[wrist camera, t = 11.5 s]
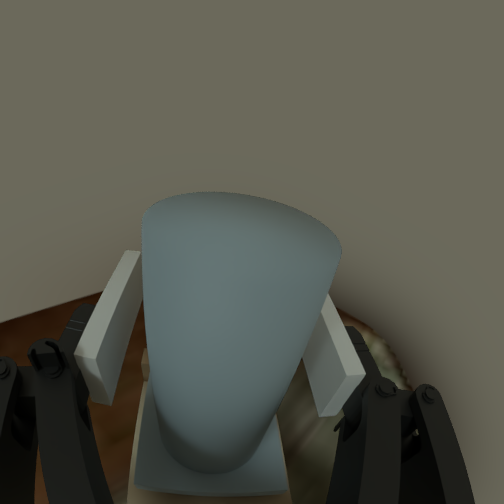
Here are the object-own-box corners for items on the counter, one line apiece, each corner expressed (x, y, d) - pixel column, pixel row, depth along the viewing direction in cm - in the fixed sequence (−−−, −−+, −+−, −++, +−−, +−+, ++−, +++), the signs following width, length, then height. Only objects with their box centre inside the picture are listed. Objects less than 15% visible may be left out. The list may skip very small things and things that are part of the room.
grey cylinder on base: (282, 494, 10) (433, 321, 5) (137, 488, 9) (40, 289, 4) (266, 390, 16) (327, 200, 11) (150, 381, 15) (142, 175, 10)
